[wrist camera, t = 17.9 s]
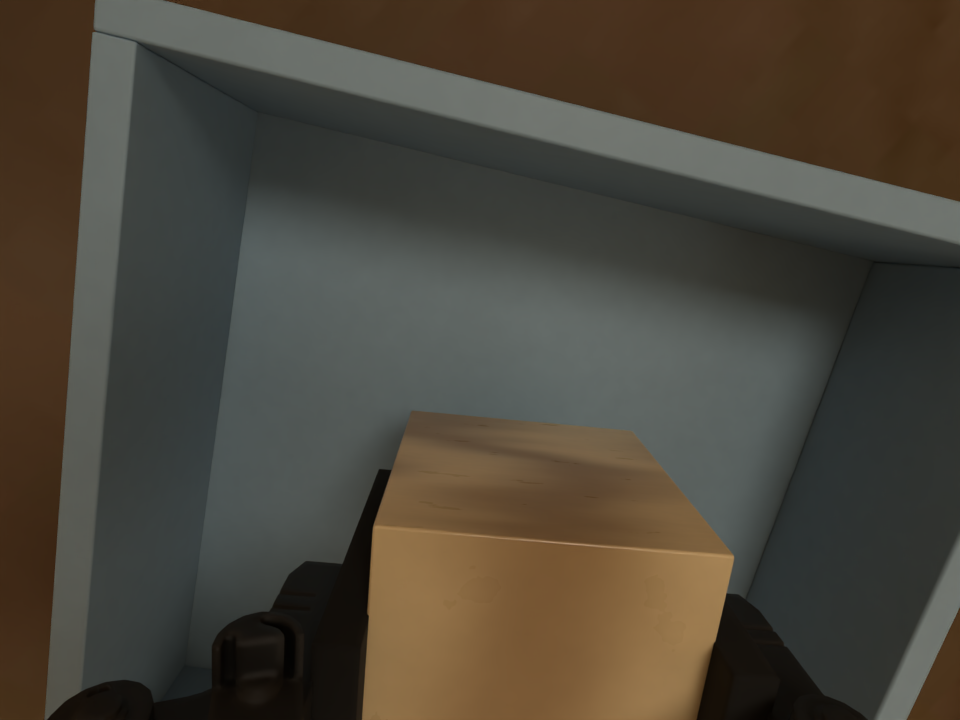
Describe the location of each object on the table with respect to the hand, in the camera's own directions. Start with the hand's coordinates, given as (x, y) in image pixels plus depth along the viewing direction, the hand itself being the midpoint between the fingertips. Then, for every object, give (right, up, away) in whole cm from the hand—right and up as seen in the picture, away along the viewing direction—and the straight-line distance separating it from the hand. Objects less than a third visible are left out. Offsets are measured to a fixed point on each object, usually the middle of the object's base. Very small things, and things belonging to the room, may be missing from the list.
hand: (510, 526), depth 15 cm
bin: (0, +1, +4) cm, 4 cm away
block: (0, 0, 0) cm, 0 cm away
